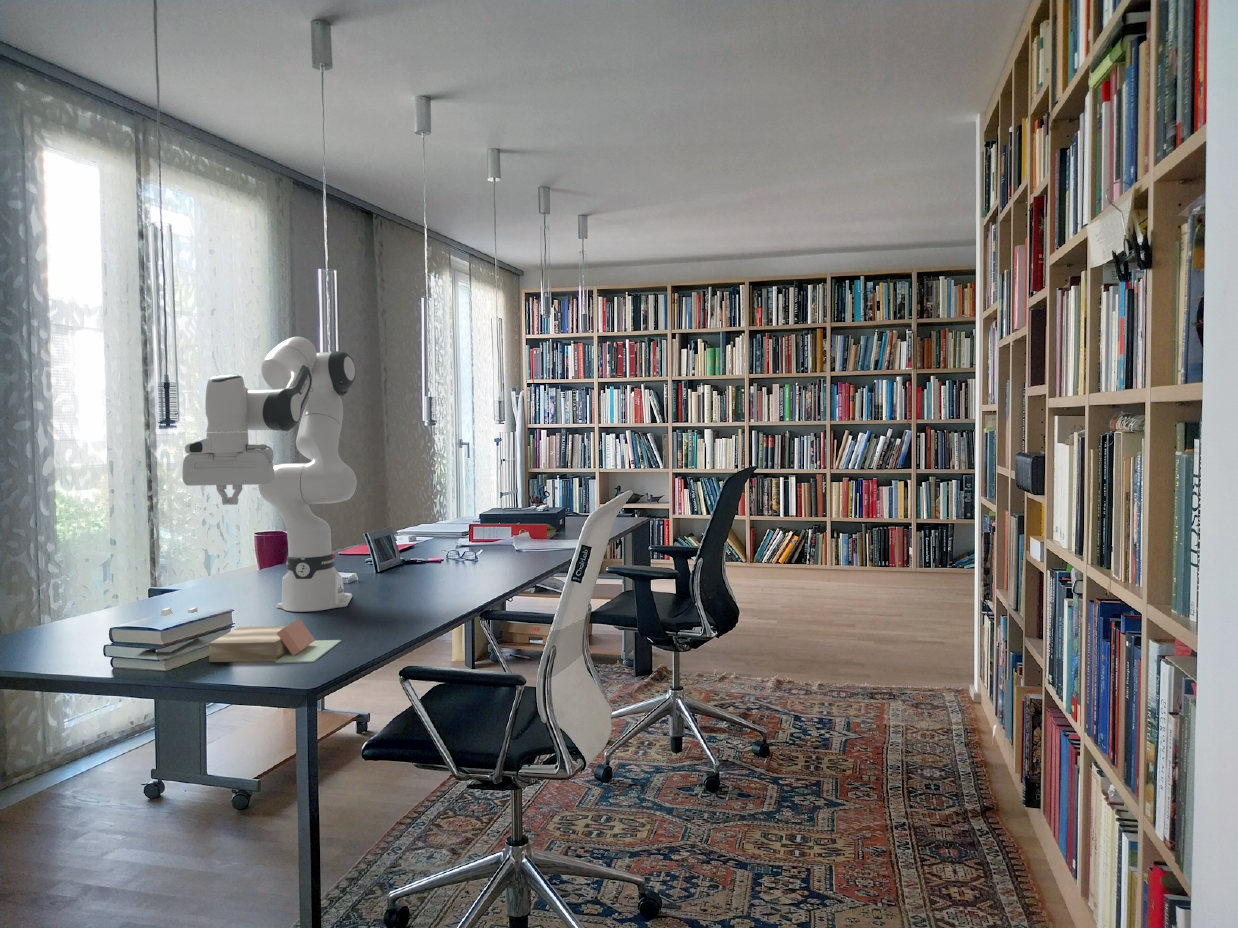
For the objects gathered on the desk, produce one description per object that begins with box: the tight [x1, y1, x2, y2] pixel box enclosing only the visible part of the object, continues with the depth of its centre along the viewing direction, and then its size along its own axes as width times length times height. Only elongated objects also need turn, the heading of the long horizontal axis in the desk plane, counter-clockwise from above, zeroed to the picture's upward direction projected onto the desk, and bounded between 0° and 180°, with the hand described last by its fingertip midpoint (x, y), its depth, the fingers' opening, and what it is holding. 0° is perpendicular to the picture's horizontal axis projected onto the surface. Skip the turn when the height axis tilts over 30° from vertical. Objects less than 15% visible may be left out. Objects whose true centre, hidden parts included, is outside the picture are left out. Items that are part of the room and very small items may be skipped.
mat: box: [274, 639, 342, 664], centre depth 196 cm, size 18×8×1 cm, turn 179°
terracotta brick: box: [277, 618, 316, 656], centre depth 196 cm, size 9×6×2 cm
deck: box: [208, 625, 290, 663], centre depth 196 cm, size 15×14×4 cm
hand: (230, 504), depth 209 cm, fingers closed
